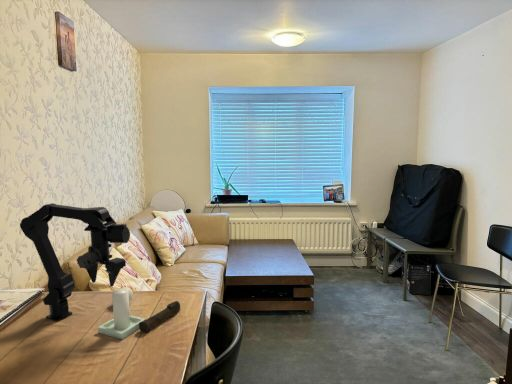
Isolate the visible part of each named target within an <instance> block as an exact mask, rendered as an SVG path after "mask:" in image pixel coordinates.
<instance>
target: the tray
mask: <svg viewBox="0 0 512 384" xmlns="http://www.w3.org/2000/svg"><path fill="white" fill-rule="evenodd" d="M146 319H147V318H143V317H141V316H140V317H138V316H136V315H132V314H130V327H128V328H126V329H124V330H116V329H115V328H114V317H113V318H112V319H109V320H108V321H106V322H104V323H102V324H100V325H99V326H97V332H98V333H99V334H102V335H106V336H109V337H113V338H116V339H119V340H124V339H126V338H127V337H128V336H130V335H132V334H133V333H136V331H138V330H140V329H139V323H140V322H142V321H145V320H146Z"/></svg>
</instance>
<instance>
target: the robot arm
mask: <svg viewBox="0 0 512 384" xmlns="http://www.w3.org/2000/svg"><path fill="white" fill-rule="evenodd" d="M53 217H57V218H64V219H72V220H79V221H81V222H83V223H84V224H87V226H85V228H84V229H83V231H85V232H90V245H89V246H88V248H87V252H84V254H82V255H80V256H79V255H78V257H77V259H76V263H77V265H78V266H79V269H85V271H86V272H87V274H88V276H89V278H90V280H91V282H92V283H96V281H97V276H98V268H99V264H100V265H104V267H105V270H104V271H105V272H106V273H107V274H108V282H109V287H113V286H114V285H115V283H116V280H117V277H118V276H119V274H120V272H121V269H124V268H125V267H126V266H127V263H126V259H125V258H121V257H114V258H113V255H112V254H110V248H111V247H112V244H127V243H129V241H130V240H131V239H130V238H131V232H130V229H129V228H128V226H127V223H121V224H120V223H117V222H116V221H115V219H114V218H113V217H112V215H111V214H110V212H109V209H108V208H106V207H104V206H99V207H98V206H95V207H80V206H79V207H77V206H69V205H64V204H57V203H46V204H44V205H43V206H41V207H40V208H39V209H37V210H36V211H34V212H33V213H31V214H30V215H28V216H26V217H24V218H22V219H21V222H20V223H19V228H20V230H21V231H22V233H23V234H24V236H25V237H26V238H27V239H29V240H30V241H32V243H33V245H34V247H35V249H36V252H37V254H38V256H39V259H40V261H41V263H42V265H43V267H44V271H45V273H46V275H47V277H48V279H47V290H48V293H47V294H46V296H45V297H43V298H42V302H43V304H44V306H48V309H49V314H48V315H46V316H45V319H49V320H51V321H54V322H55V321H56V322H59V321H61V320H62V319H64V318H66V317H69V316H71V315H73V312H72V311H70V308H69V302H68V298H70V297H71V296H72V293H73V292H74V290H75V288H76V286H75V284H76V281H75V280H74V278H73V275H72V273H71V272H69V273H66V272H65V271H64V270H63V268H62V266H61V264H60V262H59V259H58V257H57V254H56V252H55V250H54V247H53V245H52V242H51V240H50V238H49V230H50V226H49V222H50V221H51V220H52V219H53Z"/></svg>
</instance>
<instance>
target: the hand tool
mask: <svg viewBox="0 0 512 384" xmlns="http://www.w3.org/2000/svg"><path fill="white" fill-rule="evenodd" d="M180 311H181V304H180V301H178V300H176V301H173V302H170V303H168V304H167V305H166V308H164V309H162V310H161V311H159V312H157V313H155V314H154V315H152V316H150V317H149V318H145V319H146V320H145V321H142V322H140V323H139V329H138V330H140V332H142V333H145V334H146V333H148V332H149V331H151V329H153V328H155V327H156V326H157V325H159V324H160V323H162V322H164V321H166V320H167V319H168V318H173V317H175V316H176V315H178V313H180Z"/></svg>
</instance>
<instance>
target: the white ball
mask: <svg viewBox="0 0 512 384" xmlns="http://www.w3.org/2000/svg"><path fill="white" fill-rule="evenodd" d="M119 289H128V294H129V303H131V302H132V301H133V297H134V293H133V290H132V289H131V288H130V287H127V286H123V287H120V288H119Z"/></svg>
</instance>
